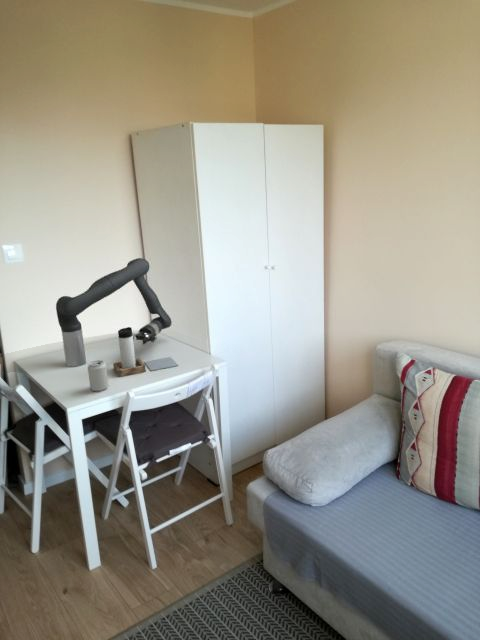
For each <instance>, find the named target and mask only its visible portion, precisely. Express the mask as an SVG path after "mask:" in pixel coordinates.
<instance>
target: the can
mask: <svg viewBox="0 0 480 640" xmlns="http://www.w3.org/2000/svg"><path fill="white" fill-rule="evenodd" d="M87 374H88V380H89V387H90V390H92V391H94V392H103V391H105V390H106V389H108V387H109V385H110V384H109V379H108V371H107V364H106V363H105V361H104V360H103V359H97V360H96V359H95V360H92V361H90V362H89V363H88V365H87Z"/></svg>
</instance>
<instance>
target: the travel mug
mask: <svg viewBox="0 0 480 640" xmlns="http://www.w3.org/2000/svg"><path fill="white" fill-rule="evenodd" d="M132 333H133V329H132V327H129V326H128V327H124V328H121V329H119V330H118V331H117V336H118V343H119V344H118V345H119V352H120V354H119V355H120V361H121V363H122V368H121V370H122V369H127V368H132V367H137V365H136V363H135V359H136V354H135V346H134V341H133V335H132Z"/></svg>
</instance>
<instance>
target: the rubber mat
mask: <svg viewBox="0 0 480 640" xmlns="http://www.w3.org/2000/svg"><path fill="white" fill-rule="evenodd" d="M143 363H144V365H145V366H146V367H147V368H148V369H149V371H150V372H154V371H155V372H157V371H161V370H164V369H165V370H166V369H170V368H175V367H179V364H178V363H177V361H175V360H174V359H173V358H172V357H171V356H168V357H163V358H157V359H152V360H146V361H144V362H143Z"/></svg>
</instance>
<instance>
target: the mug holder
mask: <svg viewBox="0 0 480 640" xmlns="http://www.w3.org/2000/svg"><path fill="white" fill-rule="evenodd" d="M112 363H113V365H112V366H113V370H114V371H115V374H116V375H117V377H118V378H120V377H122V378H124V377H127V376H134V375H138V374H143V373H147V372H146V364H145V363H144V362H143V361H142V359H140V357H139V358H136V357H135V363H136V367H132V368H127V369H122V363H121V360H120V361H116V362H112Z"/></svg>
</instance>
